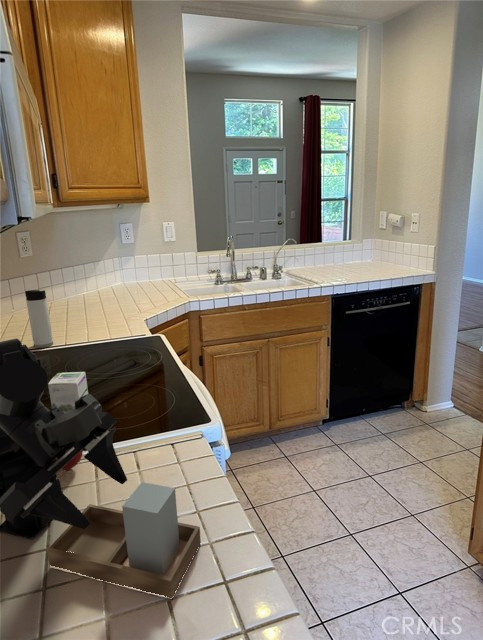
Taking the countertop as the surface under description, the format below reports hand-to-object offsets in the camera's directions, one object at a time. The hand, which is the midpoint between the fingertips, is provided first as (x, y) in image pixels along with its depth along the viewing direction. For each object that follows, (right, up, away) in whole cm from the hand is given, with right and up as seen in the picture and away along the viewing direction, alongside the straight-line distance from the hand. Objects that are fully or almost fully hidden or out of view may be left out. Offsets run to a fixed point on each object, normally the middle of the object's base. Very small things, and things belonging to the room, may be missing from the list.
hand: (107, 502), depth 59 cm
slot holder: (+2, -8, +1) cm, 8 cm away
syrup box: (-16, 0, +31) cm, 35 cm away
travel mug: (-51, +16, +92) cm, 106 cm away
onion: (-14, -3, +21) cm, 26 cm away
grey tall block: (+7, -8, 0) cm, 10 cm away
